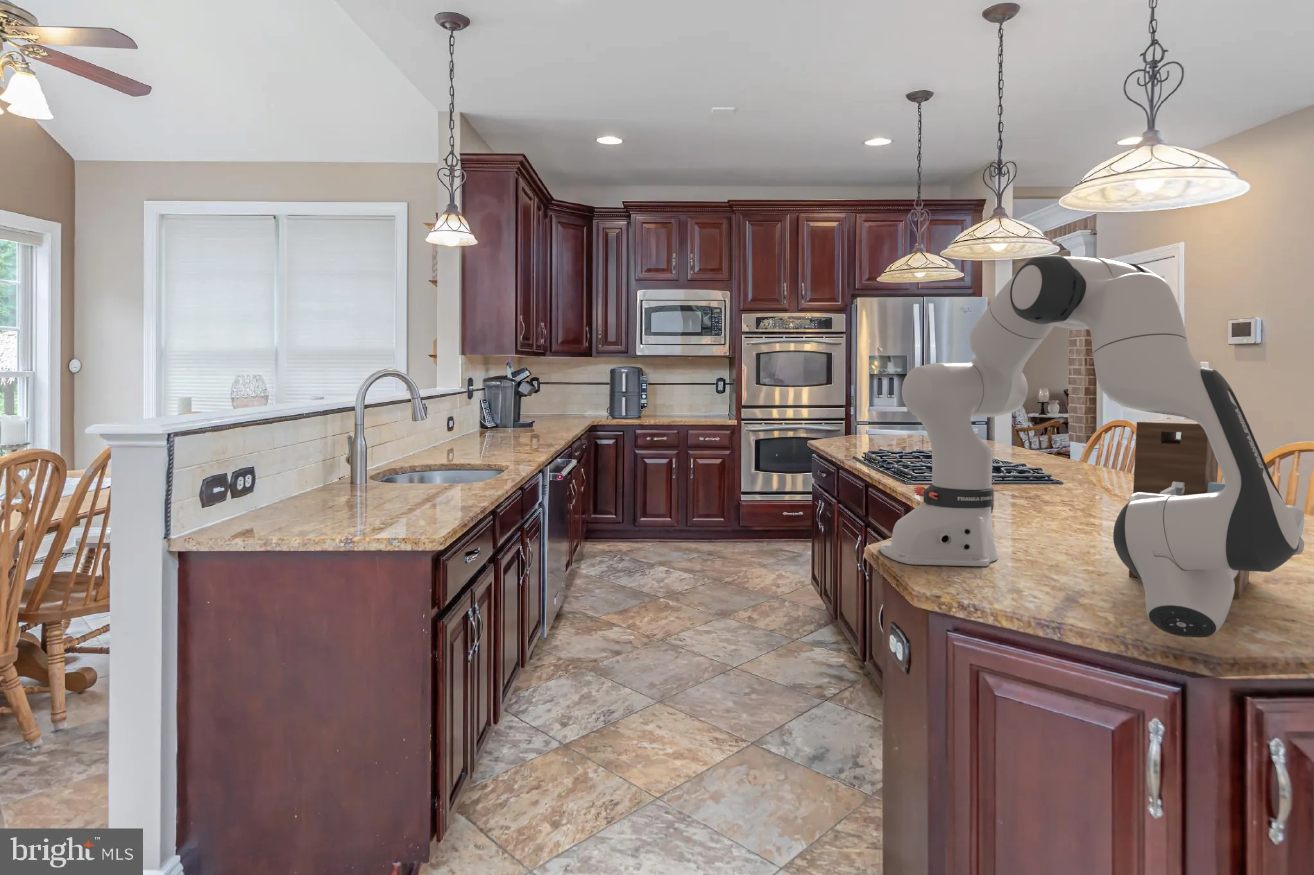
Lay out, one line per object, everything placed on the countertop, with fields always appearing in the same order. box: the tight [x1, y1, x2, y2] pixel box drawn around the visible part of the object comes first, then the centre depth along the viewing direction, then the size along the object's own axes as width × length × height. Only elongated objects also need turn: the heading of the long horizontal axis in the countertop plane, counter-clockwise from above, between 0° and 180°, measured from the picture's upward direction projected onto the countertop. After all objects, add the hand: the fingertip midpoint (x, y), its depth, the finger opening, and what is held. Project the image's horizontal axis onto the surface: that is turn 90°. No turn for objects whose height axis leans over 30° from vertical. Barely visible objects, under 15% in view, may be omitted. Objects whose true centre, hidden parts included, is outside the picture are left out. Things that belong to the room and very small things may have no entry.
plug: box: [1208, 481, 1226, 493], centre depth 117 cm, size 20×4×4 cm, turn 134°
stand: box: [1128, 418, 1250, 600], centre depth 122 cm, size 17×16×28 cm
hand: (1217, 488), depth 105 cm, fingers open, 8 cm apart
